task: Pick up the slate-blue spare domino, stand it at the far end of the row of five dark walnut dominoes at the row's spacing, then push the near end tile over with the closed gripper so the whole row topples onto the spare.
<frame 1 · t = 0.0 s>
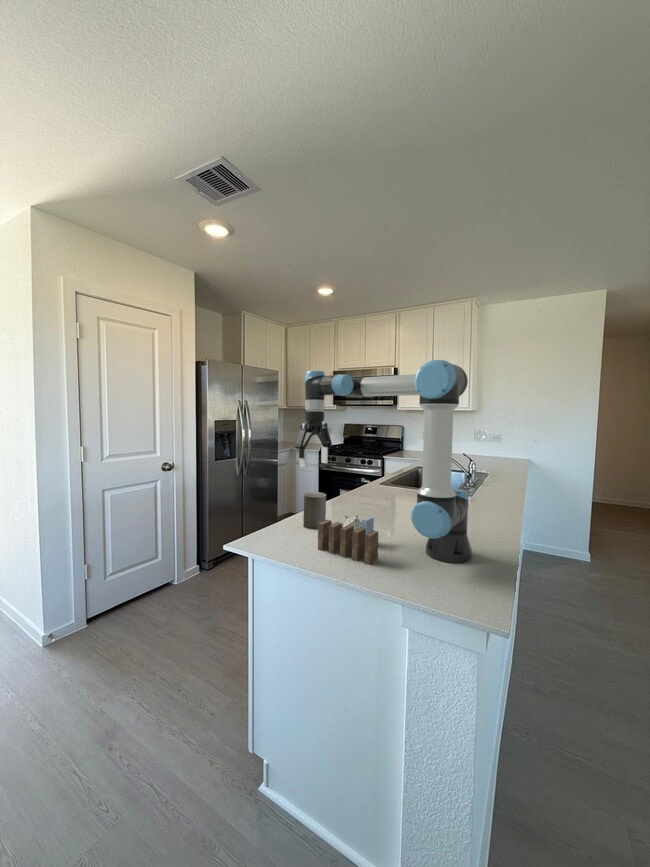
hand: (314, 464, 142), 28 cm above the worktop, fingers open, 13 cm apart
game die: (352, 536, 142), on the worktop
domino 4: (335, 551, 126), on the worktop
domino 2: (358, 558, 121), on the worktop
domino 3: (346, 554, 123), on the worktop
domino 5: (324, 548, 129), on the worktop
pillar candle: (314, 526, 155), on the worktop
domino 1: (371, 561, 118), on the worktop
spare domino: (367, 544, 133), on the worktop
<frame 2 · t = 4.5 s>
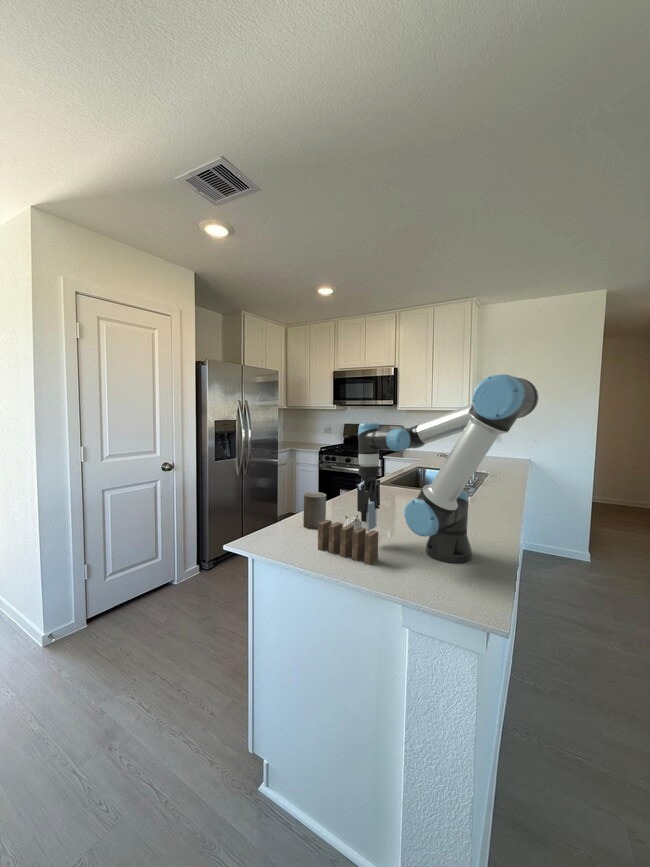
hand: (369, 527, 133), 6 cm above the worktop, fingers closed on spare domino, 5 cm apart
spare domino: (369, 528, 133), point 6 cm above the worktop, touching gripper
everything else where it was.
when the fingers open (0 cm above the worktop, at t = 9.1 s): spare domino stays where it is, on the worktop.
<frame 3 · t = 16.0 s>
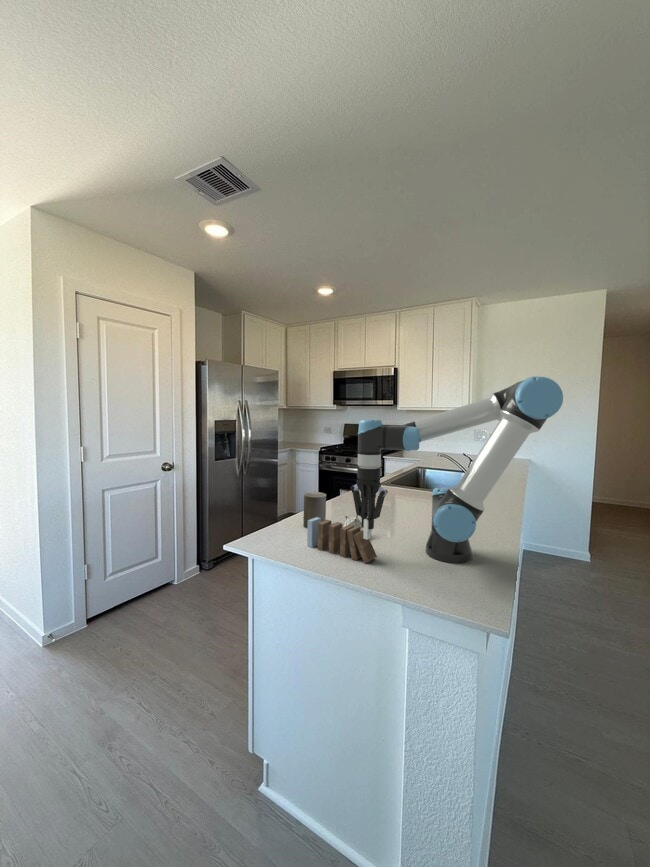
hand: (367, 538, 118), 8 cm above the worktop, fingers closed
domino 2: (358, 557, 121), on the worktop, tilted 14°
domino 1: (370, 560, 118), on the worktop, tilted 30°
spare domino: (314, 544, 132), on the worktop
everything else where it was.
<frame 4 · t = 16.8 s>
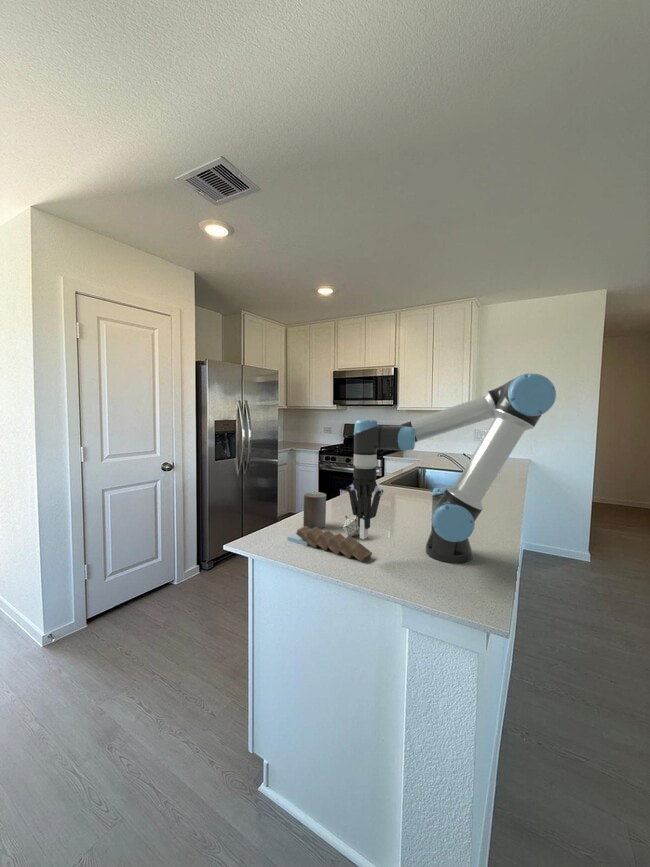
hand: (363, 537, 119), 7 cm above the worktop, fingers closed
domino 4: (330, 546, 128), point 1 cm above the worktop, tilted 65°, touching domino 3, domino 5
domino 2: (354, 554, 121), point 1 cm above the worktop, tilted 66°, touching domino 1, domino 3
domino 3: (342, 550, 124), point 1 cm above the worktop, tilted 66°, touching domino 2, domino 4
domino 5: (320, 544, 130), point 1 cm above the worktop, tilted 69°, touching domino 4
domino 1: (367, 557, 119), point 1 cm above the worktop, tilted 66°, touching domino 2
spare domino: (311, 542, 133), on the worktop, tilted 90°
everything else where it was.
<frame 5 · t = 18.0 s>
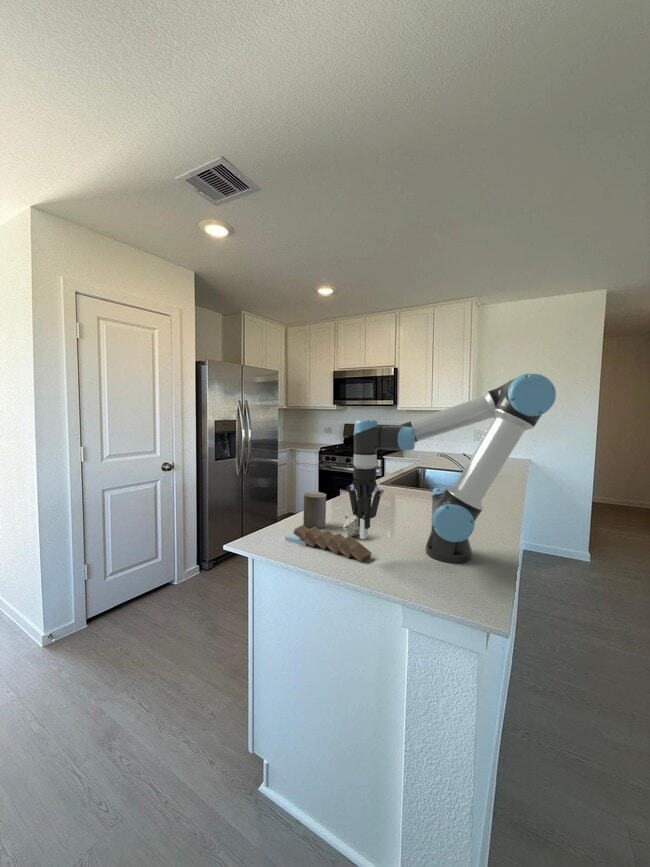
hand: (363, 537, 119), 7 cm above the worktop, fingers closed
domino 4: (329, 545, 129), point 1 cm above the worktop, tilted 66°, touching domino 3, domino 5
domino 5: (317, 543, 131), point 1 cm above the worktop, tilted 67°, touching domino 4, spare domino
spare domino: (309, 542, 133), on the worktop, tilted 90°, touching domino 5
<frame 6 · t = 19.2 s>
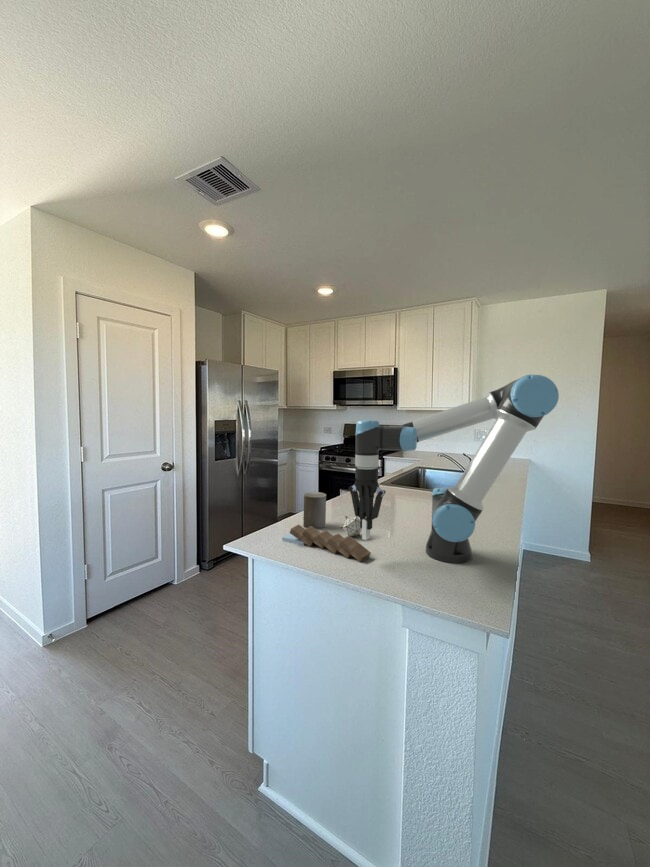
hand: (366, 538, 119), 7 cm above the worktop, fingers closed
domino 4: (327, 544, 130), point 1 cm above the worktop, tilted 67°, touching domino 5
domino 3: (340, 549, 125), point 1 cm above the worktop, tilted 69°, touching domino 2
domino 5: (314, 542, 132), point 1 cm above the worktop, tilted 67°, touching domino 4
spare domino: (307, 542, 134), on the worktop, tilted 90°
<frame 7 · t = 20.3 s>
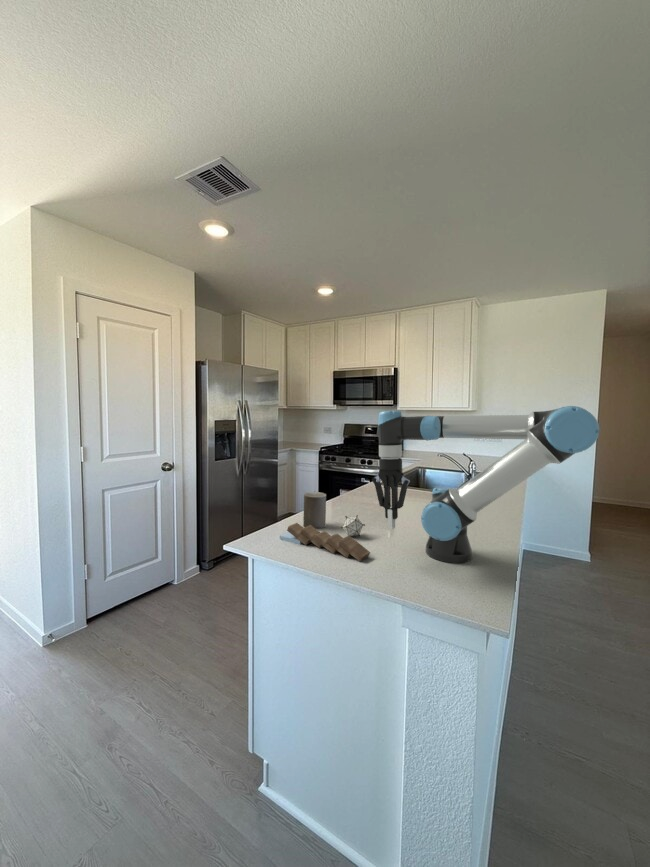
hand: (391, 528, 120), 10 cm above the worktop, fingers closed
domino 4: (324, 544, 131), point 1 cm above the worktop, tilted 66°
domino 5: (310, 540, 133), point 1 cm above the worktop, tilted 66°
domino 1: (365, 557, 119), point 1 cm above the worktop, tilted 66°, touching domino 2
spare domino: (304, 541, 135), on the worktop, tilted 90°
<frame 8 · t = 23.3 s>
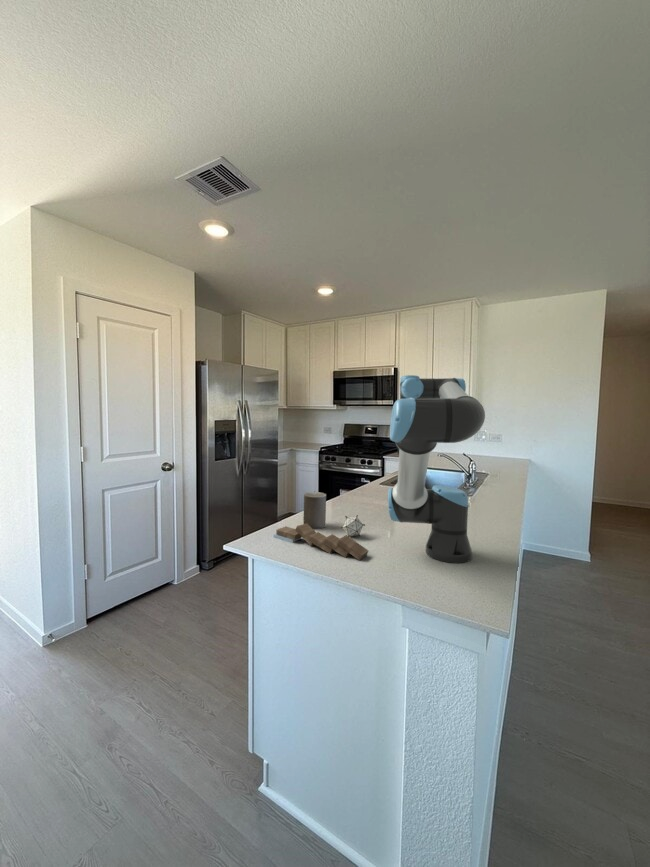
hand: (407, 474, 143), 24 cm above the worktop, fingers closed
domino 4: (316, 542, 132), point 1 cm above the worktop, tilted 67°
domino 2: (350, 552, 123), point 1 cm above the worktop, tilted 71°, touching domino 1, domino 3
domino 3: (334, 548, 126), point 1 cm above the worktop, tilted 74°, touching domino 2
domino 5: (299, 535, 135), point 2 cm above the worktop, tilted 90°, touching spare domino
domino 1: (364, 555, 120), point 1 cm above the worktop, tilted 67°, touching domino 2
spare domino: (296, 540, 136), on the worktop, tilted 90°, touching domino 5
everything else where it was.
at the end: spare domino tilted 90°; domino 5 tilted 90°; domino 1 tilted 67° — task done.
